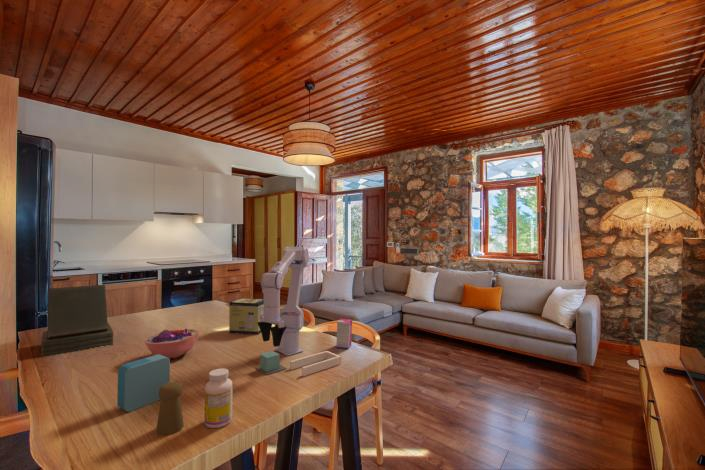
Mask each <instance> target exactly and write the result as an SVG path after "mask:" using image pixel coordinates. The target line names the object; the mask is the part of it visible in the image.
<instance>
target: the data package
mask: <svg viewBox="0 0 705 470" xmlns="http://www.w3.org/2000/svg"><path fill="white" fill-rule="evenodd" d="M170 360H171V359H169V358H167V357H165V356H162V355H152V356H147V357H144V358H141V359H137V360H134V361H130V362H127V363H124V364H121V366H119V368H118V370H117V394H116V395H117V398H116V399H117V402H116V403H117V404H116V405H117V407H118V408H120V409H121V410H124V411H125V412H126V413H131V412H133V411H136V410H139V409H141V408H142V407H143V408H144V407H146V406H149V405H151V404H153V403H156V402H159V401H161V399H160V398H159V395H158V392H159V389H160V387H161V386H162V385H164V384H166V383H169V382H171V380H170V379H171V378H170V377H171V376H170V375H171V361H170Z"/></svg>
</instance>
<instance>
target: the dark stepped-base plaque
mask: <svg viewBox="0 0 705 470" xmlns="http://www.w3.org/2000/svg"><path fill="white" fill-rule="evenodd" d="M106 292H107V291H106V284H98V285H97V284H96V285H94V284H93V285H83V286H82V285H81V286H67V287H53V288H52V287H51V288H49V289H48V297H47V298H48V299H47V300H48V303H47V304H48V305H47V307H48V308H47V329H46V330H44V331H42V335H41V336H42V337H41V340H40V358H45V357H51V356H56V354H57V355H62V353H63V354H68V353H67V352H69V353H74V352H80V351H84V349H86V350H91V349H90V348H92V349H96V348H95V347H98V348H101V347H100V346H104V347H107V346H106V345H110V346H113V345H114V330H113V329H112V326H111V324H110V323H109V322H108V310H107V295H106V294H107V293H106ZM79 350H80V351H79ZM73 351H74V352H73ZM50 355H51V356H50ZM44 356H45V357H44Z"/></svg>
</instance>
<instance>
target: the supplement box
mask: <svg viewBox="0 0 705 470" xmlns="http://www.w3.org/2000/svg"><path fill="white" fill-rule="evenodd" d="M352 332H353V319H348V318H347V319H346V318H339V320H337V321H336V343H335V344H336V345H335V346H336V347H335V348H336V349H343V350H349V349H350V347H352V338H353V337H352V335H353V334H352Z"/></svg>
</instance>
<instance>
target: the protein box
mask: <svg viewBox="0 0 705 470" xmlns="http://www.w3.org/2000/svg"><path fill="white" fill-rule="evenodd" d="M228 309H229V312H228V314H229V316H228V317H229V318H228V320H229V321H228V322H229V325H228V333H229V334H236V333H238V334H239V335H255V334H258V335H259V334H262V333H261V330H260V328H259V326H258V322H261V320H260V315H262V314H264V298H263V299H262V298H261V299H260V298H237V299H234V300H232V301H229V307H228Z"/></svg>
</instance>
